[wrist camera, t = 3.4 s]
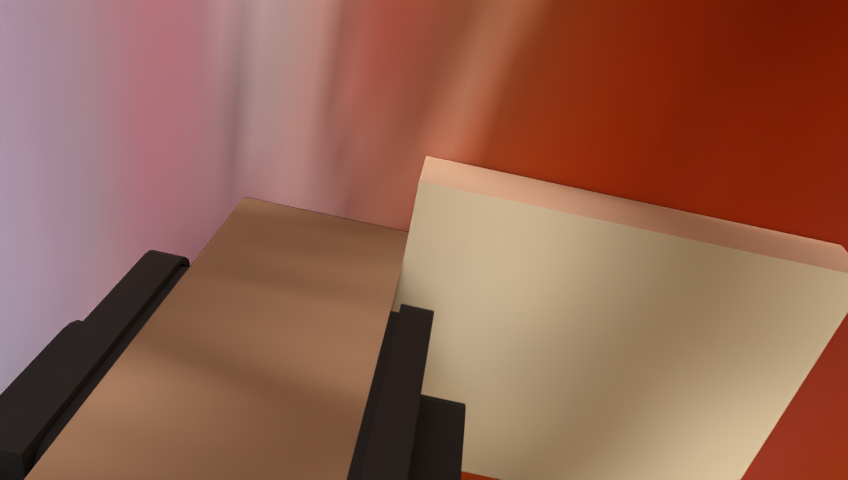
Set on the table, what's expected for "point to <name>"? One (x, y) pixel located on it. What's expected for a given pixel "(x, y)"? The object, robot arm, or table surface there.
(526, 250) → the wooden block pair
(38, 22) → the table surface
